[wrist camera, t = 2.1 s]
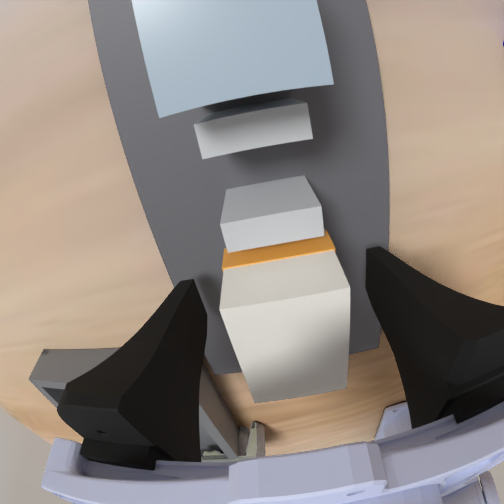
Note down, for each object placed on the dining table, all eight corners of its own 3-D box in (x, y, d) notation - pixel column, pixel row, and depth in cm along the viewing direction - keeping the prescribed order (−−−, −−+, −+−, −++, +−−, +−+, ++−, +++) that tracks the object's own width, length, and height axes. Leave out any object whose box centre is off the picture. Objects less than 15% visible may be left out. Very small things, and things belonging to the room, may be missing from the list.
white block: (316, 208, 12) (352, 285, 8) (324, 304, 15) (347, 388, 10) (227, 224, 12) (217, 308, 8) (252, 316, 15) (253, 403, 11)
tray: (193, 342, 17) (186, 384, 14) (250, 446, 26) (250, 473, 23) (43, 349, 18) (28, 379, 16) (137, 446, 27) (133, 468, 24)
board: (308, -128, 4) (325, -169, 1) (374, 338, 17) (393, 387, 14) (86, -80, 5) (47, -107, 2) (215, 364, 18) (211, 416, 15)
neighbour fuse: (268, -37, 7) (281, -105, 3) (295, 83, 9) (333, 84, 5) (170, -17, 7) (119, -70, 3) (197, 102, 10) (159, 117, 5)
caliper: (255, 415, 23) (257, 484, 17) (264, 419, 23) (267, 486, 18) (137, 456, 30) (130, 498, 24) (144, 459, 30) (138, 501, 25)
